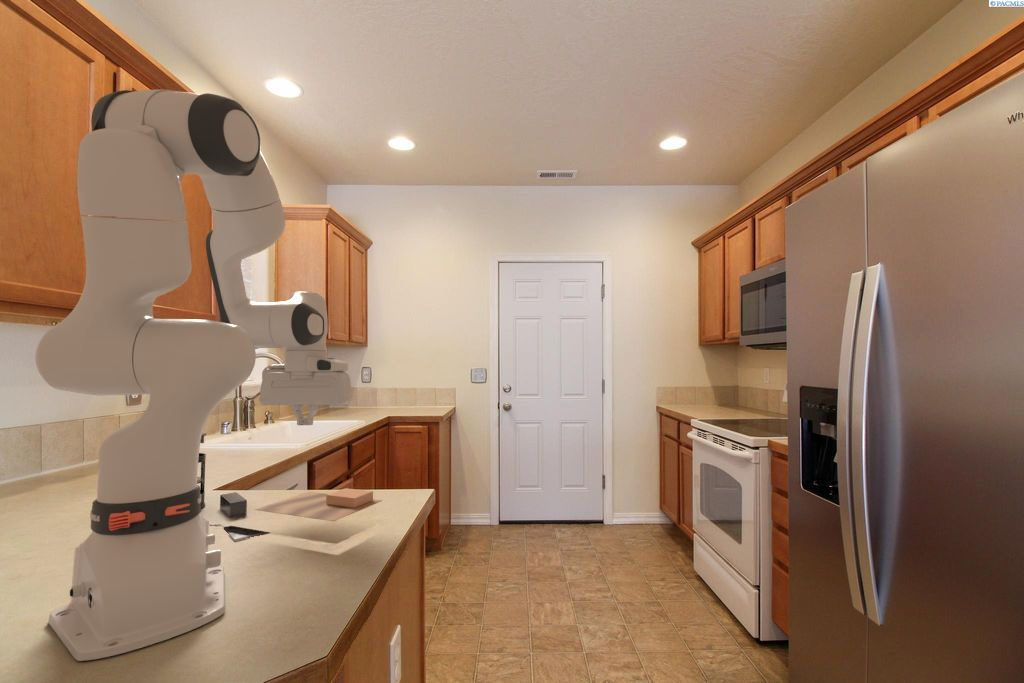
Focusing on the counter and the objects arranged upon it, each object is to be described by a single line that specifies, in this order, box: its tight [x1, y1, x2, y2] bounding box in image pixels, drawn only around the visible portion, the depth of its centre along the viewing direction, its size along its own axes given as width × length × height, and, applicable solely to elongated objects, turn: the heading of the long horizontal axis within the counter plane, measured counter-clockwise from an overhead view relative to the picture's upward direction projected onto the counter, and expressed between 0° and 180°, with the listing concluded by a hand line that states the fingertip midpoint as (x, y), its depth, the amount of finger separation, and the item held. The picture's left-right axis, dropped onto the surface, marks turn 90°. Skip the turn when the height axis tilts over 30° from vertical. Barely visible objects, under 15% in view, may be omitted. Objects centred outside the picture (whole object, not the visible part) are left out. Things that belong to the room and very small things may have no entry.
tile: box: [326, 487, 374, 508], centre depth 101 cm, size 2×6×8 cm
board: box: [254, 491, 383, 522], centre depth 100 cm, size 22×15×2 cm
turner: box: [219, 491, 271, 542], centre depth 92 cm, size 20×6×4 cm, turn 44°
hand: (305, 425), depth 101 cm, fingers closed
